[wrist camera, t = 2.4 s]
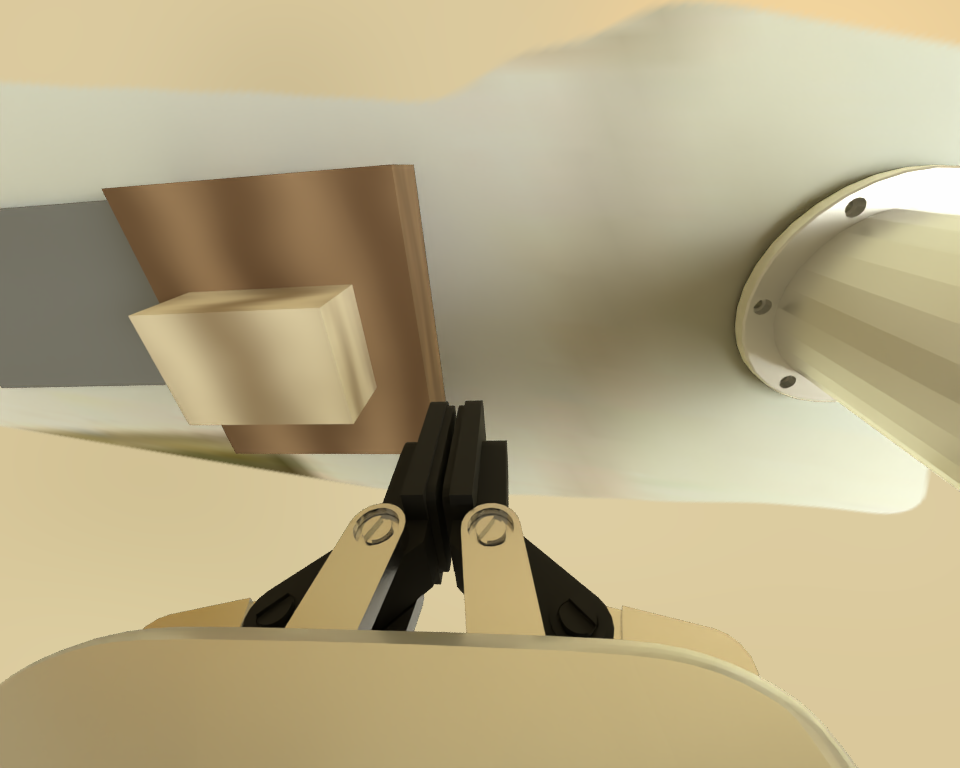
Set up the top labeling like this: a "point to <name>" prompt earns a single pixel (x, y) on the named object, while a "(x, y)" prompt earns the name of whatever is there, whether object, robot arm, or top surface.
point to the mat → (70, 299)
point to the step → (306, 278)
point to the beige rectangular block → (262, 355)
